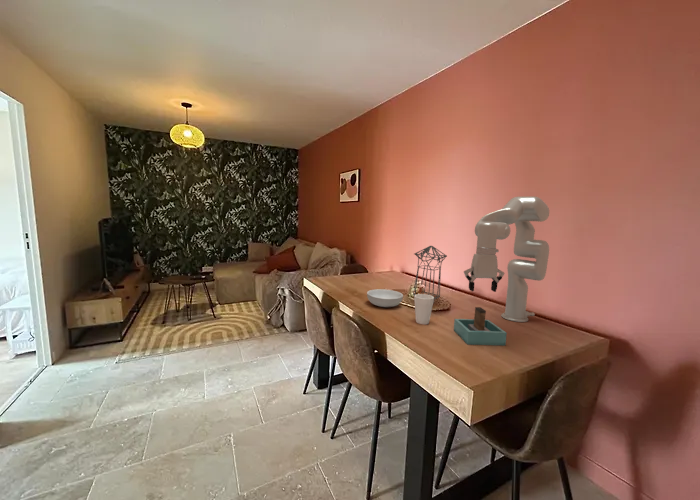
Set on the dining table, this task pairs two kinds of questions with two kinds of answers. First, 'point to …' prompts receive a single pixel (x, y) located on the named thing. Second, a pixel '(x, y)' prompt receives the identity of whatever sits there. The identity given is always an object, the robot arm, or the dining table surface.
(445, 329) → the dining table surface
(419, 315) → the foam cup
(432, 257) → the geometric lantern
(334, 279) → the dining table surface
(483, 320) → the brown rectangular block
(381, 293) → the serving bowl
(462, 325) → the teal shallow tray
